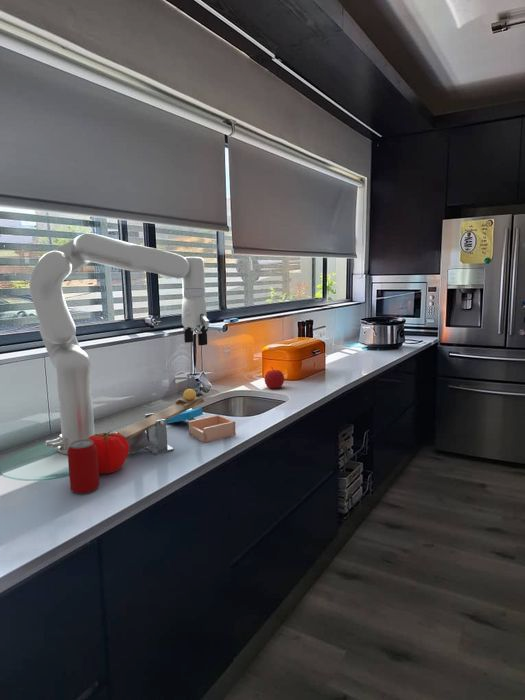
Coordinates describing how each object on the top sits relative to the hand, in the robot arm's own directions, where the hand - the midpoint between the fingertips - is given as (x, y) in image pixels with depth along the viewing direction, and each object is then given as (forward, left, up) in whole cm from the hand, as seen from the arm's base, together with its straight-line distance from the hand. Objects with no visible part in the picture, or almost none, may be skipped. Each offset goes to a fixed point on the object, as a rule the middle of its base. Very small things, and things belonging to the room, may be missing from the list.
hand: (195, 343), depth 163 cm
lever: (-18, -12, -25) cm, 33 cm away
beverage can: (-47, -29, -29) cm, 62 cm away
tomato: (-39, -20, -29) cm, 53 cm away
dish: (-2, -12, -29) cm, 32 cm away
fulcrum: (-21, -12, -29) cm, 38 cm away
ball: (-9, -12, -14) cm, 21 cm away
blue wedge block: (-3, +4, -30) cm, 30 cm away
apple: (+55, +28, -29) cm, 68 cm away
